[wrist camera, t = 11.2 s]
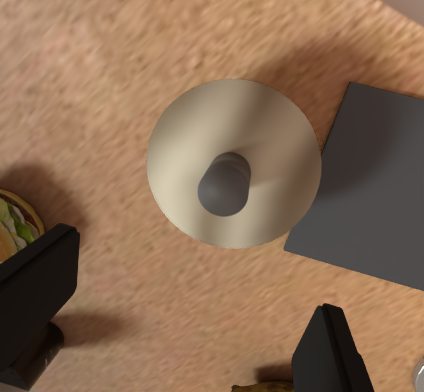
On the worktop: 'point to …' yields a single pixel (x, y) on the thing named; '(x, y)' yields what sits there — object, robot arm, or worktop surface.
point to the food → (17, 224)
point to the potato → (265, 387)
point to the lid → (233, 163)
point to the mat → (370, 190)
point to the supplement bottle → (34, 358)
